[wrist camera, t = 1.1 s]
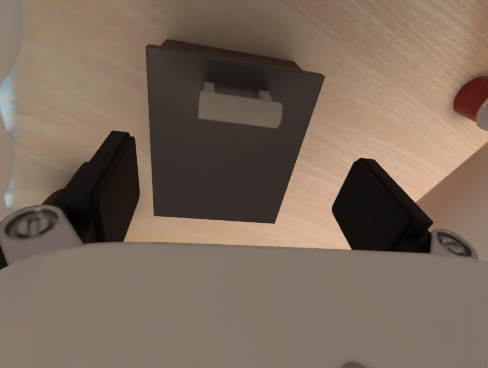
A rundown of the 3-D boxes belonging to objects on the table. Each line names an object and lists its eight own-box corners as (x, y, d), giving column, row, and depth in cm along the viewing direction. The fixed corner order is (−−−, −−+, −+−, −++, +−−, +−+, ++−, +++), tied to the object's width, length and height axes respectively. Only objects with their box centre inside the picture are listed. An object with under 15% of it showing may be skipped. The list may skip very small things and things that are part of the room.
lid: (148, 43, 17) (125, 61, 13) (321, 73, 19) (351, 97, 15) (155, 210, 26) (143, 253, 22) (273, 218, 28) (283, 259, 24)
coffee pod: (470, 70, 28) (502, 80, 25) (507, 77, 29) (543, 88, 26) (442, 113, 31) (467, 127, 28) (476, 118, 32) (505, 133, 29)
